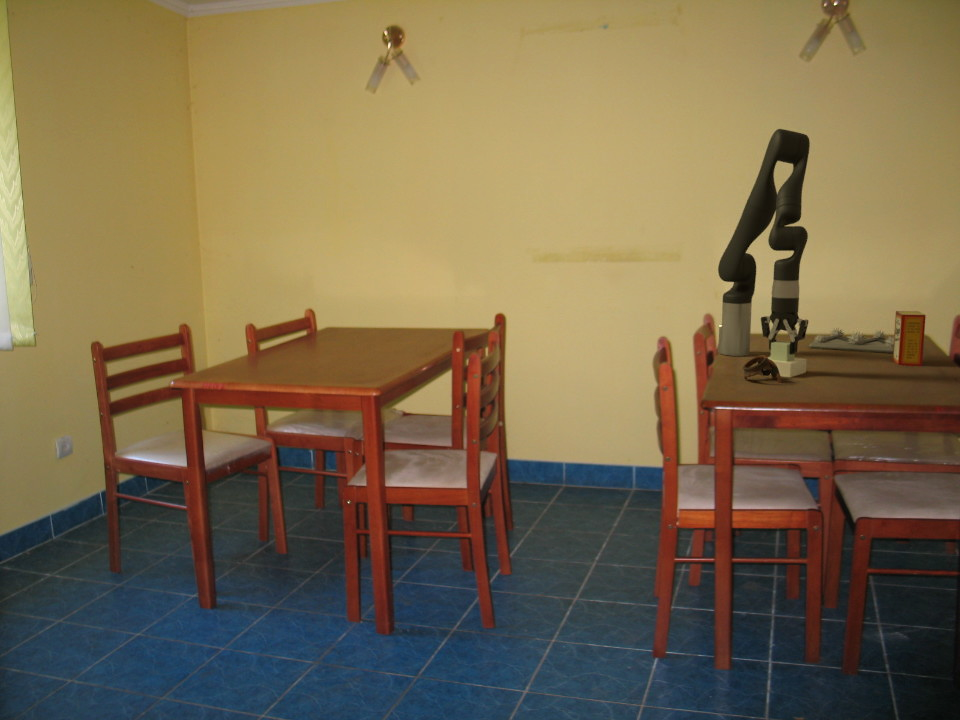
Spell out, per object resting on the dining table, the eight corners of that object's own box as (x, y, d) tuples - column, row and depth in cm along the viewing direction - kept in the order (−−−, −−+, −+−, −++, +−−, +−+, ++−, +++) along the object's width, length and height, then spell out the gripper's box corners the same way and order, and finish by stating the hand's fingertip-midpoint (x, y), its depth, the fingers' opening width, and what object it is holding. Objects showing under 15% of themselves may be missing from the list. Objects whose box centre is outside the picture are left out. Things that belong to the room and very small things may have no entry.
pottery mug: (782, 387, 246) (768, 362, 245) (750, 399, 251) (736, 374, 249) (785, 368, 256) (772, 344, 255) (754, 380, 261) (741, 357, 260)
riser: (757, 373, 264) (758, 359, 263) (774, 368, 271) (774, 355, 270) (790, 377, 257) (790, 363, 256) (805, 372, 264) (806, 359, 263)
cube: (778, 357, 266) (779, 340, 266) (794, 359, 263) (795, 342, 262) (770, 359, 263) (771, 342, 262) (786, 361, 259) (787, 344, 259)
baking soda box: (892, 360, 282) (895, 309, 279) (915, 360, 280) (918, 310, 278) (898, 365, 273) (902, 313, 270) (921, 366, 271) (925, 313, 269)
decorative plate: (908, 346, 311) (910, 326, 310) (904, 356, 292) (905, 334, 291) (817, 341, 325) (818, 321, 324) (807, 349, 307) (808, 329, 306)
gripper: (815, 296, 257) (812, 354, 260) (768, 293, 267) (766, 349, 270) (803, 298, 252) (800, 357, 255) (756, 295, 262) (753, 352, 265)
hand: (782, 352), depth 263 cm, fingers open, 5 cm apart
